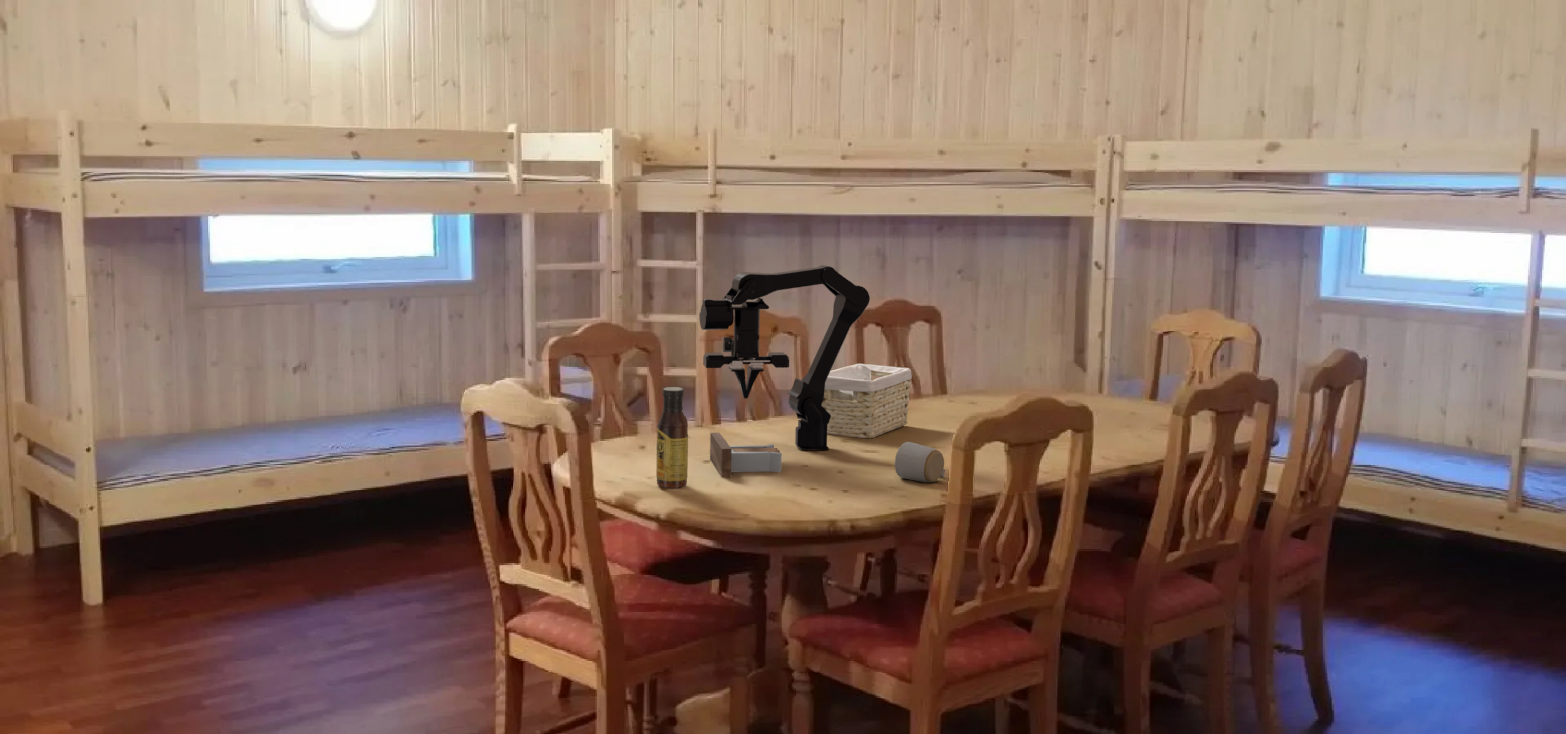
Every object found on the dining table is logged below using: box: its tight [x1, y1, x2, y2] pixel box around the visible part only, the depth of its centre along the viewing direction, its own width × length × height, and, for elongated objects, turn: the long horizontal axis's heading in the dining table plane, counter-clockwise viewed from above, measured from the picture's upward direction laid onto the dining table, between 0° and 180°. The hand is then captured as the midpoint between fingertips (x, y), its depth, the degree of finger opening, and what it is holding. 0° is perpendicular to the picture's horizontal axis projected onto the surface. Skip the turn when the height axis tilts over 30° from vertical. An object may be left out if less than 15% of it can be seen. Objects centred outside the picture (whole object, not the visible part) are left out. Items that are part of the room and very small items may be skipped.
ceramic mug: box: [894, 441, 946, 484], centre depth 300 cm, size 11×8×8 cm
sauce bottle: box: [655, 386, 689, 489], centre depth 288 cm, size 6×6×20 cm
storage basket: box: [822, 363, 913, 439], centre depth 354 cm, size 24×16×15 cm
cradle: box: [729, 443, 783, 473], centre depth 308 cm, size 11×11×4 cm
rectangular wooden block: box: [732, 447, 781, 453], centre depth 308 cm, size 10×4×4 cm, turn 100°
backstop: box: [709, 432, 732, 478], centre depth 306 cm, size 2×18×6 cm, turn 10°
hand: (745, 398), depth 324 cm, fingers closed
